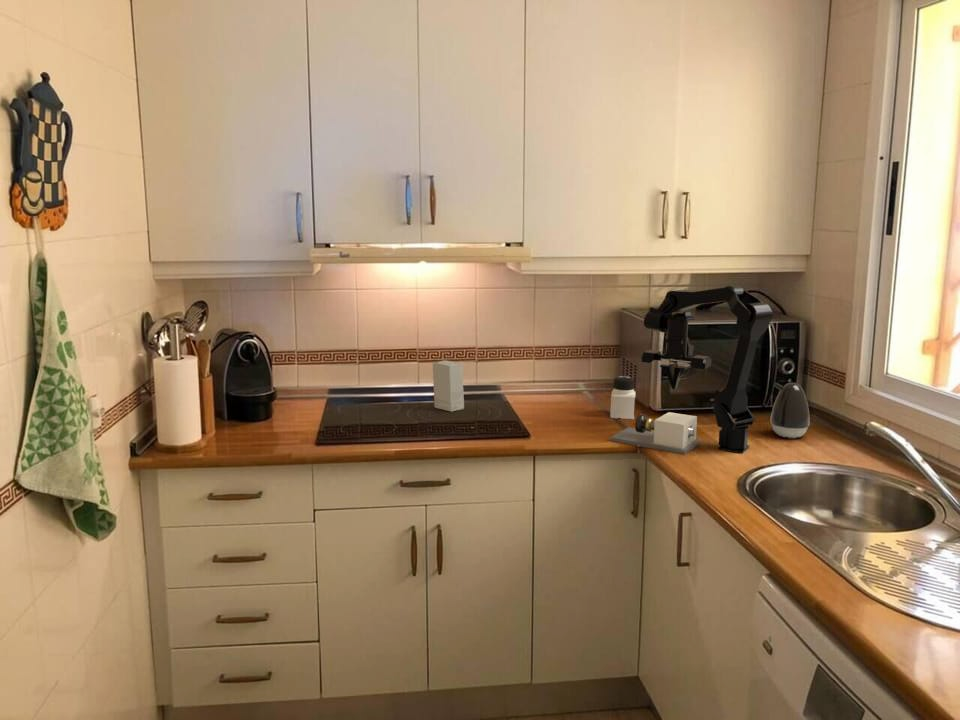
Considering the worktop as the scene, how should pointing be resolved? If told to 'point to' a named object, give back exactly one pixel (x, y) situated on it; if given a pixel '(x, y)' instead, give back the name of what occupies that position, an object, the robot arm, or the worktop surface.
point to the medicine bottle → (623, 398)
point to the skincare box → (448, 385)
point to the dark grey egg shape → (790, 411)
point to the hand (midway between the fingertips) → (674, 389)
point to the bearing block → (663, 434)
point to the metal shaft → (652, 425)
